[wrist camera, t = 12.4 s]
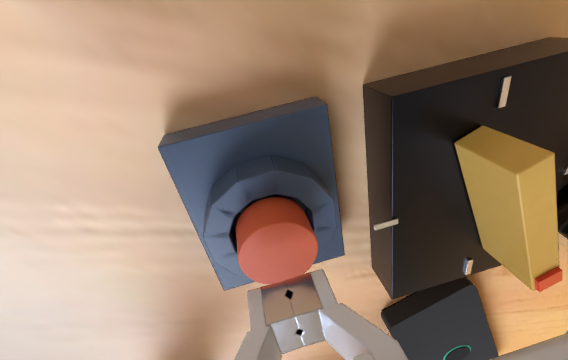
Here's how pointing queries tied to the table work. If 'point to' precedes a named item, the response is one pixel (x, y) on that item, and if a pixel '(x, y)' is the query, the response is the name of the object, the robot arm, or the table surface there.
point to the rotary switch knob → (513, 203)
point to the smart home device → (442, 324)
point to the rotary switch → (452, 154)
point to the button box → (256, 177)
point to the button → (275, 241)
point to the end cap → (563, 208)
